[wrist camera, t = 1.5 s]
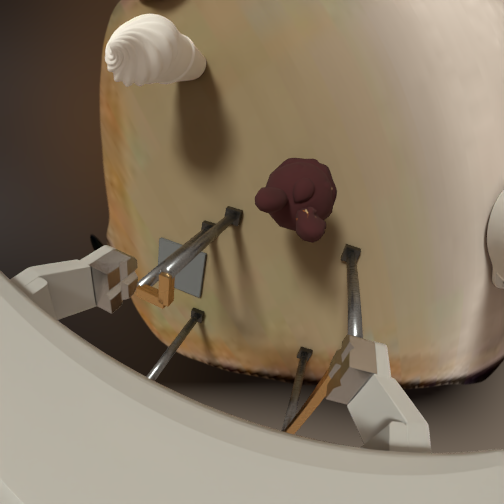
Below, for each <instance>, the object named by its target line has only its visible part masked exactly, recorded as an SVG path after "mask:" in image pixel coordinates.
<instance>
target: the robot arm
mask: <svg viewBox="0 0 504 504" xmlns="http://www.w3.org/2000/svg"><path fill="white" fill-rule="evenodd" d="M487 247H488V253H489V256H490V259H491V262H492V266H493V272H492V282H493V284H494V285H495V286H496V287H497V288H502V289H504V190H503V191H502V192H501V194H500V195H499V197H498V198H497V200H496V202H495V204H494V207H493V209H492V212H491V215H490V219H489V223H488V230H487ZM136 269H137V260H136V259H135V257H132V256H130V255H128V254H126V253H124V252H121V251H119V250H117V249H115V248H112V247H110V246H106V245H104V246H103V247H101V248H99V249H98V250H96V251H94V252H93V253H91V254H90V255H88V256H86V257H85V258H83V259H82V260H80V261H79V260H71V261H65V262H58V263H52V264H46V265H40V266H34V267H29V268H27V269H26V270H24V271H23V272H21V273H20V274H18V275H16V276H15V277H13V278H12V279H11V280H9V279H8V278H7V277H6V276H5V275H4V274H3V273H2V272H1V271H0V504H504V450H502V449H492V450H483V451H474V452H460V453H431V446H430V435H429V426H428V424H427V422H426V421H425V419H424V418H423V416H422V415H421V414H420V413H419V411H418V410H417V408H416V407H415V405H414V404H413V403H412V401H411V400H410V399H409V397H408V396H407V395H406V393H405V392H404V391H403V389H402V388H401V386H400V385H399V384H398V382H397V381H396V380H395V379H394V378H391V372H390V364H389V357H388V350H387V346H386V344H383V343H379V342H375V341H370V340H366V339H362V338H359V337H355V336H352V335H349V334H347V335H346V337H345V338H344V340H343V341H342V348H341V349H339V350H337V351H336V353H335V355H334V357H333V359H332V361H331V364H330V368H329V377H330V378H331V380H330V381H329V383H328V384H327V392H326V399H328V400H332V401H335V402H339V403H343V404H346V405H347V407H348V409H349V411H350V414H351V416H352V418H353V420H354V423H355V425H356V427H357V429H358V432H359V434H360V436H361V439H362V441H363V443H364V445H363V446H362V447H360V448H359V447H352V446H346V445H340V444H334V443H330V442H325V441H320V440H315V439H310V438H306V437H302V436H298V435H294V434H290V433H287V432H283V431H279V430H276V429H272V428H269V427H265V426H263V425H259V424H256V423H253V422H250V421H247V420H244V419H241V418H238V417H235V416H232V415H230V414H227V413H225V412H222V411H219V410H217V409H214V408H212V407H209V406H207V405H204V404H202V403H200V402H197V401H195V400H193V399H190V398H188V397H186V396H184V395H182V394H179V393H177V392H175V391H173V390H171V389H169V388H167V387H165V386H163V385H161V384H159V383H157V382H155V381H153V380H151V379H149V378H147V377H145V376H143V375H142V374H140V373H138V372H136V371H134V370H132V369H131V368H129V367H127V366H125V365H124V364H122V363H120V362H119V361H117V360H115V359H114V358H112V357H110V356H109V355H107V354H105V353H104V352H102V351H100V350H99V349H98V348H96V347H94V346H93V345H91V344H90V343H88V342H87V341H85V340H84V339H83V338H81V337H80V336H78V335H77V334H75V333H74V332H72V331H71V330H70V329H68V328H67V327H66V326H64V325H63V324H61V323H60V322H59V321H58V319H61V318H64V317H67V316H70V315H73V314H75V313H78V312H81V311H84V310H87V309H90V308H93V307H95V306H96V305H97V306H98V307H100V308H102V309H104V310H106V311H108V312H110V313H113V312H114V311H116V309H118V308H119V307H120V306H121V305H122V300H124V299H129V298H130V297H131V296H132V295H133V294H134V292H135V290H136V288H137V283H138V277H137V275H136V273H135V270H136Z"/></svg>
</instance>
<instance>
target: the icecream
mask: <svg viewBox="0 0 504 504" xmlns="http://www.w3.org/2000/svg"><path fill="white" fill-rule="evenodd" d="M336 194H337V190H336V187H335V184H334V182H333V179H332V176H331V173H330V170H329V168H328V167H327V166H326V165H324V164H321V163H319V162H318V161H317V160H315V159H301V158H289V159H287V160H285V161H284V162H283V163H282V164H281V165H280V166H279V167H278V168H277V169H275V170H274V171H273V172H272V173H271V174H270V176H269V179H268V182H267V185H266V187H265V188H261V189H260V190H259V191H258V193H257V195H256V196H255V205H256V206H257V207H258V209H259V210H261V211H263V212H266V213H269V214H270V215H271V217H272V218H273V219H274V220H275V221H276V223H277V224H278V225H279V226H280V227H284V228H287V229H291V230H294V231H296V233H297V234H298V235H299V236H300V238H301V239H302V240H305V241H308V242H315V241H318V240H319V239H320V238H321V237H322V236H323V234H324V233H325V230H324V229H326V222H325V221H324V220H325V219H326V218H327V217H329V216H330V214H331V213H332V209H333V205H334V202H335V199H336Z"/></svg>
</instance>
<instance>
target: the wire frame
mask: <svg viewBox="0 0 504 504" xmlns="http://www.w3.org/2000/svg"><path fill="white" fill-rule="evenodd" d="M242 211H243V210H240V209H236V208H233V207H229V206H228V207H227V208H226V212H225V217H224V218H223V219H222V220H220V221H219V222H218V223H217V224H215V223H212V222H208V221H204V222H202V229H201V231H200V232H199V233H198V234H196V235H195V236H194V237H193V238H191V239H190V240H189V241H187V242H186V243H185V244H184V245H182V246H181V247H180V248H179V249H177V250H176V251H175V252H174V253H172V254H171V255H170V256H169V257H168V258H166V259H165V260H164V261H163V262H161V263H160V264H159V265H158V266H157V267H155V268H154V269H153V270H152V271H151V272H149V273H148V274H147V275H146V276H145V277H143V278H142V279H141V280H140V281H139V282H138V283H137V288H136V290H135V291H136V296H137V297H139V298H141V299H143V300H145V301H147V302H150V303H152V304H154V305H156V306H158V307H160V308H164V307H165V306H169V305H170V304H171V303H172V302H173V301H174V284H175V276H176V275H177V274H178V273H179V272H180V271H181V270H182V269H183V268H184V267H185V266H186V265H188V264H189V263H190V262H191V261H192V260H193V259H194V258H195V257H196V256H197V255H198V254H199V253H200V252H201V251H202V250H204V249H205V248H206V247H207V246H208V245H209V244H210V243H211V242H212V241H213V240H214V239H215V238H216V237H218V236H219V235H220V234H221V233H222V232H223V231H224V230H225V229H226V228H227V227H228V226H230V225H231V224H232V225H235V226H238V225H239V224H240V220H241V216H242ZM360 252H361V249H360V248H357V247H354V246H351V245H348V244H346V245H345V248H344V251H343V253H342V256H341V260H342V261H345V262H347V285H348V334H349V335H352V336H355V337H359V338H362V339H363V334H362V317H361V303H360V292H359V282H358V272H357V264H356V262H357V259H358V257H359V255H360ZM158 280H159V290H158V289H156V288H153V287H152V286H153V285H154V284H155V283H156V282H157V281H158ZM203 318H204V312H203V311H201V310H199V309H196V308H193V309H192V311H191V319H190V320H189V321H188V322H187V324H186V325H185V326H184V328H183V329H182V330H181V332H180V333H179V334H178V336H177V337H176V338H175V340H174V341H173V342H172V343H171V345H170V346H169V347H168V349H167V350H166V351H165V353H164V354H163V355H162V357H161V358H160V359H159V361H158V362H157V363H156V365H155V366H154V367H153V369H152V370H151V371H150V373H149V374H148V375H147V378H149V379H151V380H153V381H155V379H156V378H157V377H158V375H159V374H160V372H161V371H162V370H163V368H164V367H165V366H166V364H167V363H168V361H169V360H170V358H171V357H172V356H173V354H174V353H175V352H176V350H177V349H178V348H179V346H180V345H181V343H182V342H183V341H184V339H185V338H186V336H187V335H188V334H189V332H190V331H191V330H192V328H193V327H194V325H195V324H196V323H197V322H200V323H202V321H203ZM311 354H312V350H310V349H307V348H304V347H301V348H300V350H299V352H298V354H297V358H299V359H300V360H299V364H298V369H297V373H296V377H295V381H294V385H293V389H292V393H291V397H290V401H289V405H288V409H287V412H286V417H285V420H284V424H283V427H282V431H283V432H287V433H290V434H294V433H296V431H297V430H298V429H299V428H300V427H301V426H302V424H303V423H304V422H305V421H306V420H307V419H308V417H309V416H310V415H311V414H312V412H313V411H314V410H315V409H316V408H317V406H318V405H319V404H320V402H321V401H322V400H323V399H324V397H325V396H326V392H327V384H328V383H329V381H330V380H331V378H330V377H329V368H330V367H329V368H328V370H327V372H326V373H325V375H324V376H323V378H322V379H321V381H320V382H319V384H318V385H317V386H316V388H315V389H314V391H313V392H312V394H311V395H310V396H309V398H308V399H307V401H306V402H305V403H304V405H303V406H302V408H301V409H300V410H299V412H298V413H297V414H296V416H295V413H296V409H297V404H298V400H299V396H300V391H301V386H302V382H303V377H304V372H305V368H306V363H307V361H308V360H309V358H310V356H311Z"/></svg>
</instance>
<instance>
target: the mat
mask: <svg viewBox="0 0 504 504" xmlns="http://www.w3.org/2000/svg"><path fill="white" fill-rule="evenodd" d="M181 246H182V245H181V244H178V243H175V242H172V241H170V240H167V239H164V238H160V239H159V257H158V265H159V264H160V263H161V262H163V261H164V260H165V259H166V258H168V257H169V256H170V255H171V254H172V253H174V252H175V251H176V250H177V249H179V248H180V247H181ZM205 261H206V253H204V252H200V253H199V254H198V255H197V256H196V257H195V258H194V259H193V260H192V261H191V262H190V263H189V264H188V265H186V266H185V267H184V268H183V269H182V270H181V271H180V272H179V273H178V274H177V275H176V276H175V284H174V288H177V289H179V290H182V291H184V292H186V293H189V294H191V295H194V296H196V297H200V296H201V290H202V282H203V275H204V268H205ZM158 281H159V280H158Z"/></svg>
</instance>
